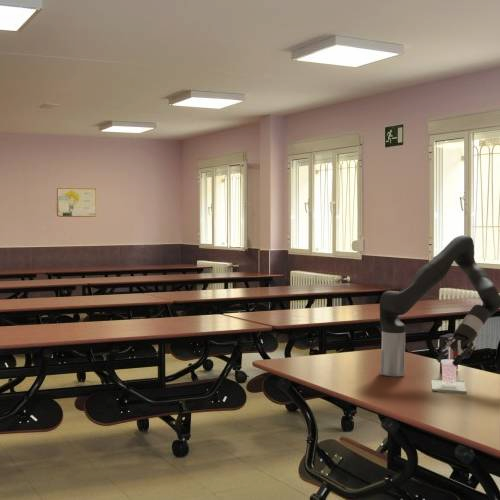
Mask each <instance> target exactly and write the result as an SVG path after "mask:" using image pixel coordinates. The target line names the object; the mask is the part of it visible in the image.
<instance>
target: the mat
mask: <svg viewBox="0 0 500 500" xmlns="http://www.w3.org/2000/svg"><path fill="white" fill-rule="evenodd" d="M432 391H438V392H437V393H446V392H448V393H449V394H460V395H462V394H463V395H465V394H466V395H467V388H466V384H465V380H462V379H456V384H455V386H445V385H443V379H442V378H431V392H432Z"/></svg>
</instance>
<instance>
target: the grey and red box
mask: <svg viewBox="0 0 500 500" xmlns="http://www.w3.org/2000/svg"><path fill="white" fill-rule="evenodd" d="M445 337H447V338H448V339H452V338H453V337H454V333H451V332H450V333H447V334H443V335H440V336H439V338H438V345H439V346H440V344H441V343H442V341H443V340H444V338H445ZM439 346H438V347H439ZM449 347H450V346H449ZM442 348H443V347H442ZM450 349H451V348H450ZM447 350H448V349H446V350H445V351H447ZM457 355H458V352H457V351H453V352H451V353H450V359H452V360H454V359H455V358H456V356H457ZM444 359H449V353H448V354H446V355H445V357H444ZM444 359H443V360H444ZM458 369H459V365H457V370H458ZM439 374H442V363H439Z"/></svg>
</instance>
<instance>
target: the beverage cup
mask: <svg viewBox="0 0 500 500" xmlns="http://www.w3.org/2000/svg"><path fill="white" fill-rule="evenodd" d="M453 361H454V360H452V359H450V347H449V359H444V360H441V363H442V375H441V377H442V378H441V379H443V385H445V386H455V384H456V380H457V370H458V369H457V366H454V365H453V363H452V362H453Z"/></svg>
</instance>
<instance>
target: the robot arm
mask: <svg viewBox="0 0 500 500" xmlns="http://www.w3.org/2000/svg"><path fill="white" fill-rule="evenodd" d="M454 262H455V264H456V266H458V267H459V268H460V269H461V270H462V272H463V273H465V275H466V277H467V279H468V280H469V281H470V283H471V285H472V286H473V289H474V290H475V291H476V292H477V295H478V296H479V298H480V301H481V302H482V305H481V304H475V305H474V306H472V307H471V308H470V310H469V312H468V313H467V314H466V316H465V317H464V318H463V319H462V321H461V322H460V323H459V325H458V327H456V330H455V331H454V333H453V334H454V337H453V338H452V339H448V338H447V337H445V338H444V340H443V341H442V343H441V344H440V346H438V347H437V350H438V351H439V352H440V353H438V355H437V357H436V361H437V362H438V363H439V364H440V363H441V360H443V359H444V357H445V355H446V354H448V353H449V346H450V348H451V349H450V353H451V352H453V351H457V352H458V355H457V356H456V358H455V359H454V361H453V362H452V363H453V365H454V366H457V365H458V366H459V365H460V363H461V361H463V360H464V359H465V360H466V359H467V360H469V358H470V357H471V355H472V354H473V352H474V351H475V350H476V348H477V347H476V345H475V343H474V341H475V339H477V336H479V334H480V333H481V331H482V328H483V327H484V326H485V324H486V323H487V321H488V319H489V318H490V317H492V315H494V314H495V313H496V312H497V311H498V310H499V309H500V292H499V290H498V289H497V286H496V285H495V284H494V283H493V281H492V280H491V278H490V276H489V275H488V273H487V272H486V271H485V269H484V268H482V267H480V266H478V264H477V262H476V260H475V244H474V240H473V238H472V237H471V236H470V235H467V234H464V235H463V234H462V235H458V236H455V238H453V239H452V240H451V241H450V242H449V243H448V244H447V245H446V246H445V247H444V248H443V249H441V251H440V252H439V253H438V254H436V255H435V256H434V257H433V258H431V260H429V261H428V262H427V263H425V264H423V266H422V267H420V268H419V269H418V270H417V271H416V272H415V275H414V278H413V281H412V283H411V284H410V285H409V286H408V287H406V288H404V289H403V290H402V291H396V290H395V291H394V290H387V291H384V292H383V293H382V295H381V296H380V299H379V322H380V323H379V324H380V326H381V350H380V374H379V375H380V376H386V377H402V376H403V377H404V375H405V362H406V361H405V360H406V359H405V358H406V325H405V323H404V322H402V321H401V320H400V317H399V316H404V315H405V314H407V313H408V312H409V311H410V310H411V309H412V308H413V307H414V306H415V305H416V303H418V302H419V300H420V299H422V298H423V297H424V296H425V295H426V294H428V292H430V291H431V290H433V288H435V287H436V286H437V285H439V283H441V282H442V281H443V280H444V279H445V278H446V277H447V274H448V272H449V271H450V269H451V267H452V265H453V263H454ZM442 347H443V348H442ZM446 349H448V350H447V351H445V350H446Z"/></svg>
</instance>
